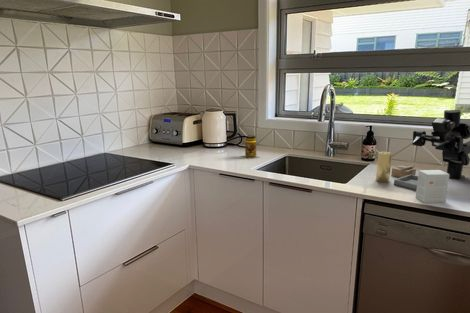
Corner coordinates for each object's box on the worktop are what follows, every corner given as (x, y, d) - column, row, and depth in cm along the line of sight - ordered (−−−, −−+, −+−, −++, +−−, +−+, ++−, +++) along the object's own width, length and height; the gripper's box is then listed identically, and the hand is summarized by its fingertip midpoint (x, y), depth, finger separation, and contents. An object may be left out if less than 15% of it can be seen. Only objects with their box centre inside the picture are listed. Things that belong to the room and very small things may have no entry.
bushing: (380, 178, 146) (383, 151, 143) (391, 181, 142) (394, 153, 139) (373, 180, 143) (375, 152, 140) (384, 183, 139) (387, 155, 136)
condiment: (248, 159, 181) (248, 137, 178) (240, 156, 188) (240, 135, 186) (259, 157, 185) (260, 136, 182) (251, 154, 192) (251, 133, 189)
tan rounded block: (401, 172, 154) (402, 162, 153) (416, 176, 149) (417, 165, 148) (390, 175, 149) (391, 165, 148) (405, 179, 144) (406, 169, 143)
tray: (409, 179, 144) (410, 174, 144) (440, 186, 134) (441, 181, 134) (393, 184, 137) (394, 179, 137) (424, 192, 127) (425, 187, 127)
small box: (436, 197, 123) (440, 169, 121) (446, 202, 118) (450, 173, 115) (414, 197, 123) (418, 169, 121) (423, 203, 118) (427, 174, 115)
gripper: (425, 115, 143) (402, 122, 136) (473, 119, 128) (450, 128, 121) (424, 140, 147) (401, 149, 140) (470, 147, 131) (448, 158, 124)
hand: (423, 145), depth 131 cm, fingers open, 9 cm apart
